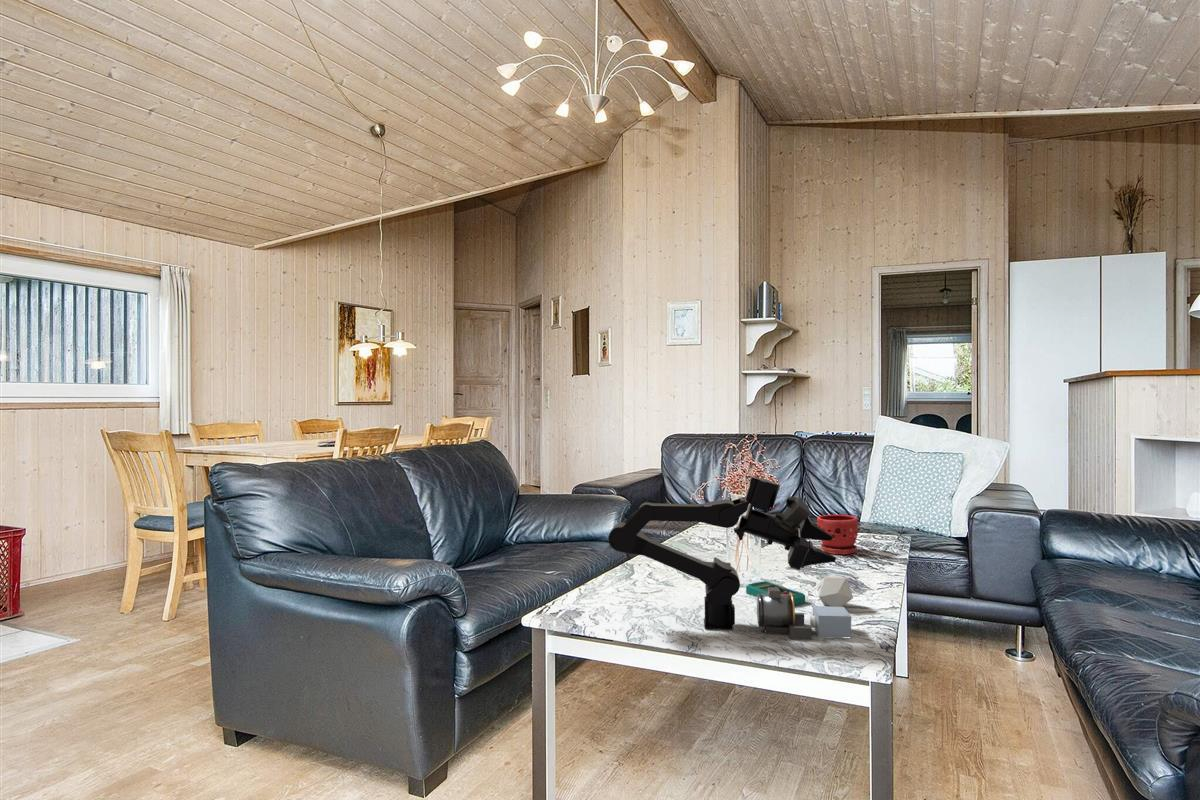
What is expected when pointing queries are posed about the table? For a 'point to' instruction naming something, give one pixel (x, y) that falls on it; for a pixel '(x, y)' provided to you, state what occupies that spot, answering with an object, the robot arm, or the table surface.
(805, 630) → the clip bracket
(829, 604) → the die
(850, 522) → the plant pot
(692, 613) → the table surface
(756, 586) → the digital multimeter
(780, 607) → the cylinder
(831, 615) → the blue-gray block
